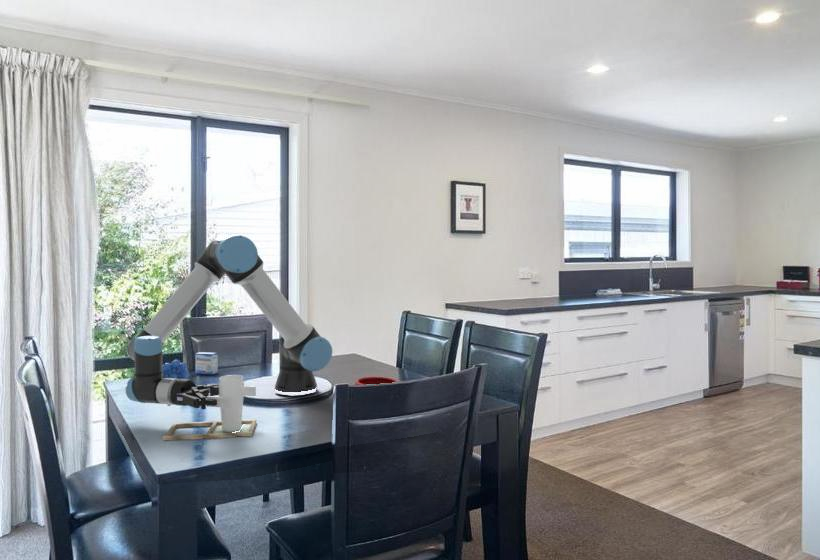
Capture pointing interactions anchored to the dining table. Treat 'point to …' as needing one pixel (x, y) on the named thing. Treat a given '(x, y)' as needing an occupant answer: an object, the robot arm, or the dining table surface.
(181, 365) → the grapes
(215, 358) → the medicine box
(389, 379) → the plant pot
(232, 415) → the drinking glass
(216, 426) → the wooden window frame
